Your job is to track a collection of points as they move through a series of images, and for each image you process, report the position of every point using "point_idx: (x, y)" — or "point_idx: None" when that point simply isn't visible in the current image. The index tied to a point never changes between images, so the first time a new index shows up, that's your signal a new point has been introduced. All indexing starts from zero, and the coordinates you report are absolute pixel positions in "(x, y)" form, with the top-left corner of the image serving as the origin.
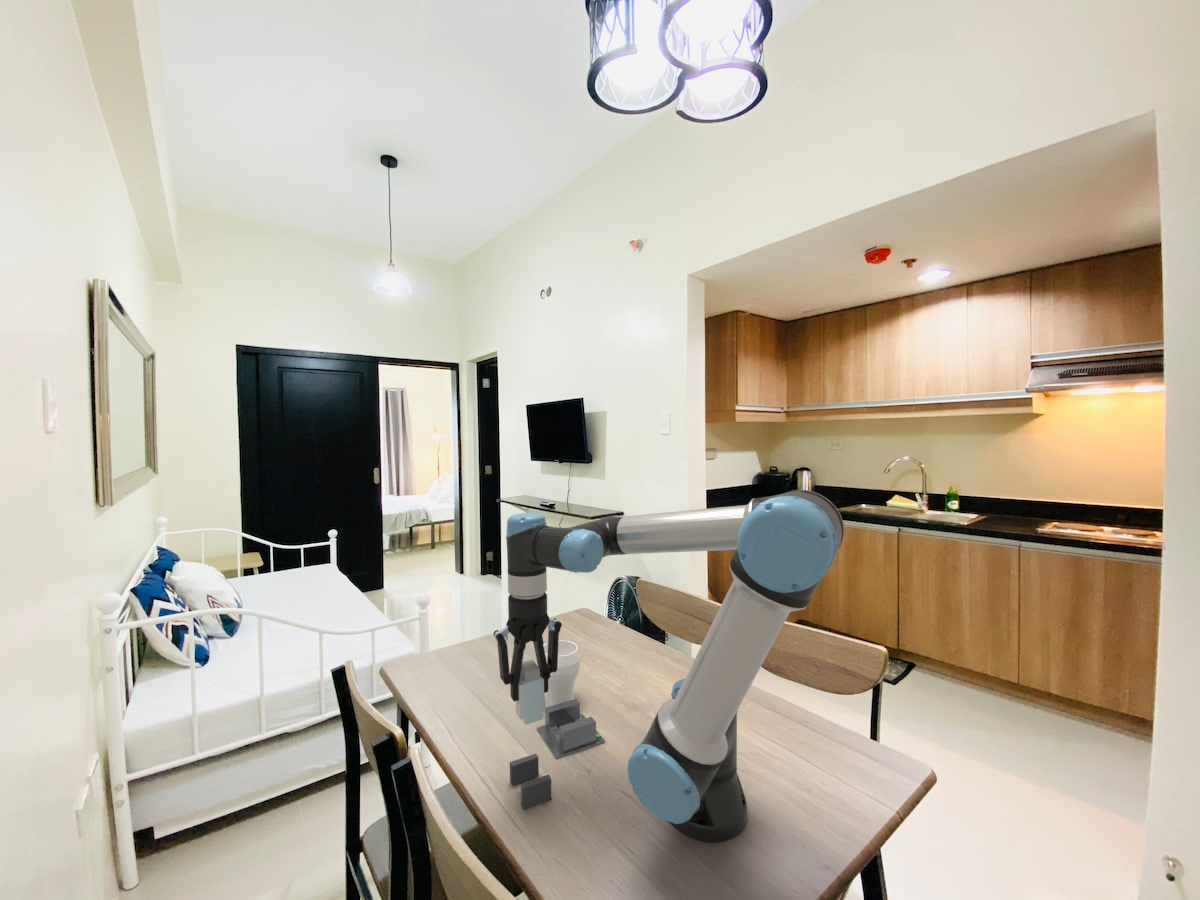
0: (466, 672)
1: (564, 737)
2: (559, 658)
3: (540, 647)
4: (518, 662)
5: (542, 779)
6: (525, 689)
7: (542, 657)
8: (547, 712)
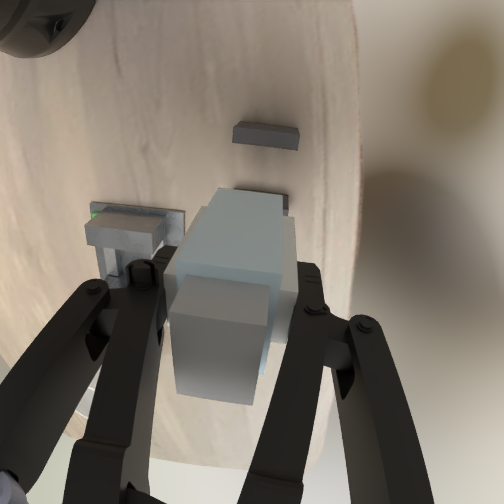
0: (234, 437)
1: (153, 227)
2: (93, 384)
3: (111, 427)
4: (301, 397)
5: (251, 135)
6: (280, 256)
7: (123, 364)
8: None
